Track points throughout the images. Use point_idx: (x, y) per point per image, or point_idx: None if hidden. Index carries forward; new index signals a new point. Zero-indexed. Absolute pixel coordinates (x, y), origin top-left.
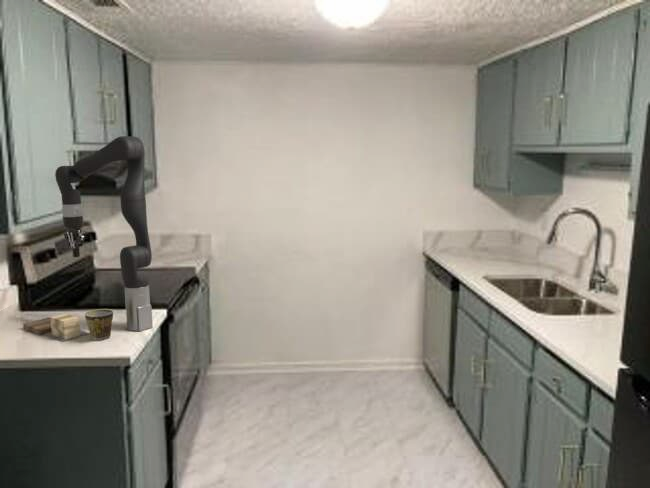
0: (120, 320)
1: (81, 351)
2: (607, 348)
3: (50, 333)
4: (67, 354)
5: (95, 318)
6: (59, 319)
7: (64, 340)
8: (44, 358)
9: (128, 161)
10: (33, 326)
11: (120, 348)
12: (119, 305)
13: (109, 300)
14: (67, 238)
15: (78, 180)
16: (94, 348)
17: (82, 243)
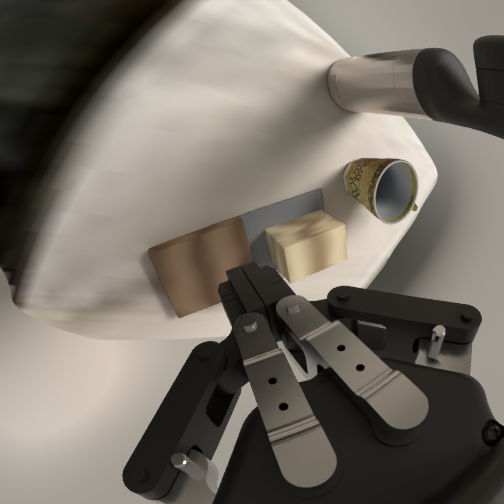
0: (264, 89)
1: (389, 225)
2: None
3: (263, 263)
4: (384, 246)
5: (408, 206)
6: (326, 265)
7: None
8: (374, 277)
9: None
10: (218, 299)
11: (416, 170)
12: (93, 46)
13: (15, 72)
14: (212, 451)
15: None
16: None
17: (386, 298)
